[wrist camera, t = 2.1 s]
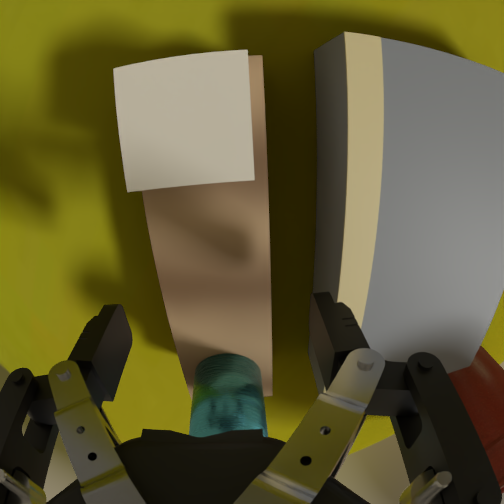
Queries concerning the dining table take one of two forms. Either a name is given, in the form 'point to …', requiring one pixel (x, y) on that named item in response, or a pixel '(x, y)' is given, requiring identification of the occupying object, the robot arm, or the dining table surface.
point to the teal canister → (227, 396)
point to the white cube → (185, 120)
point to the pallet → (218, 258)
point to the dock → (409, 195)
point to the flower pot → (485, 405)
